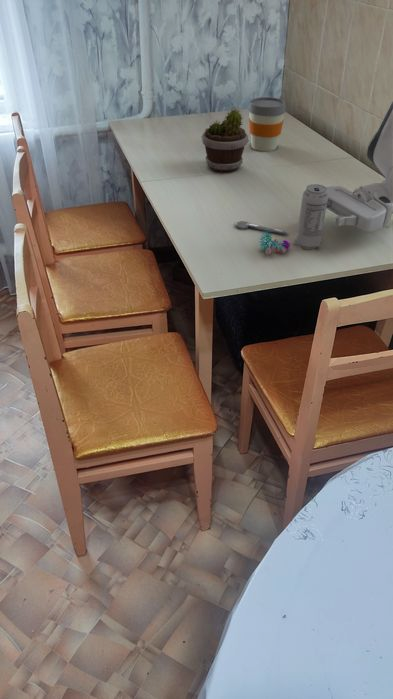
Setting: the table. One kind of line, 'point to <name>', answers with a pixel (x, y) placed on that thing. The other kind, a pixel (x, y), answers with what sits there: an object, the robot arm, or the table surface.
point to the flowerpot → (225, 143)
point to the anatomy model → (268, 249)
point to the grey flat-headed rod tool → (258, 227)
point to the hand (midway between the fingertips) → (324, 213)
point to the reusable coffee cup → (265, 122)
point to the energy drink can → (312, 216)
